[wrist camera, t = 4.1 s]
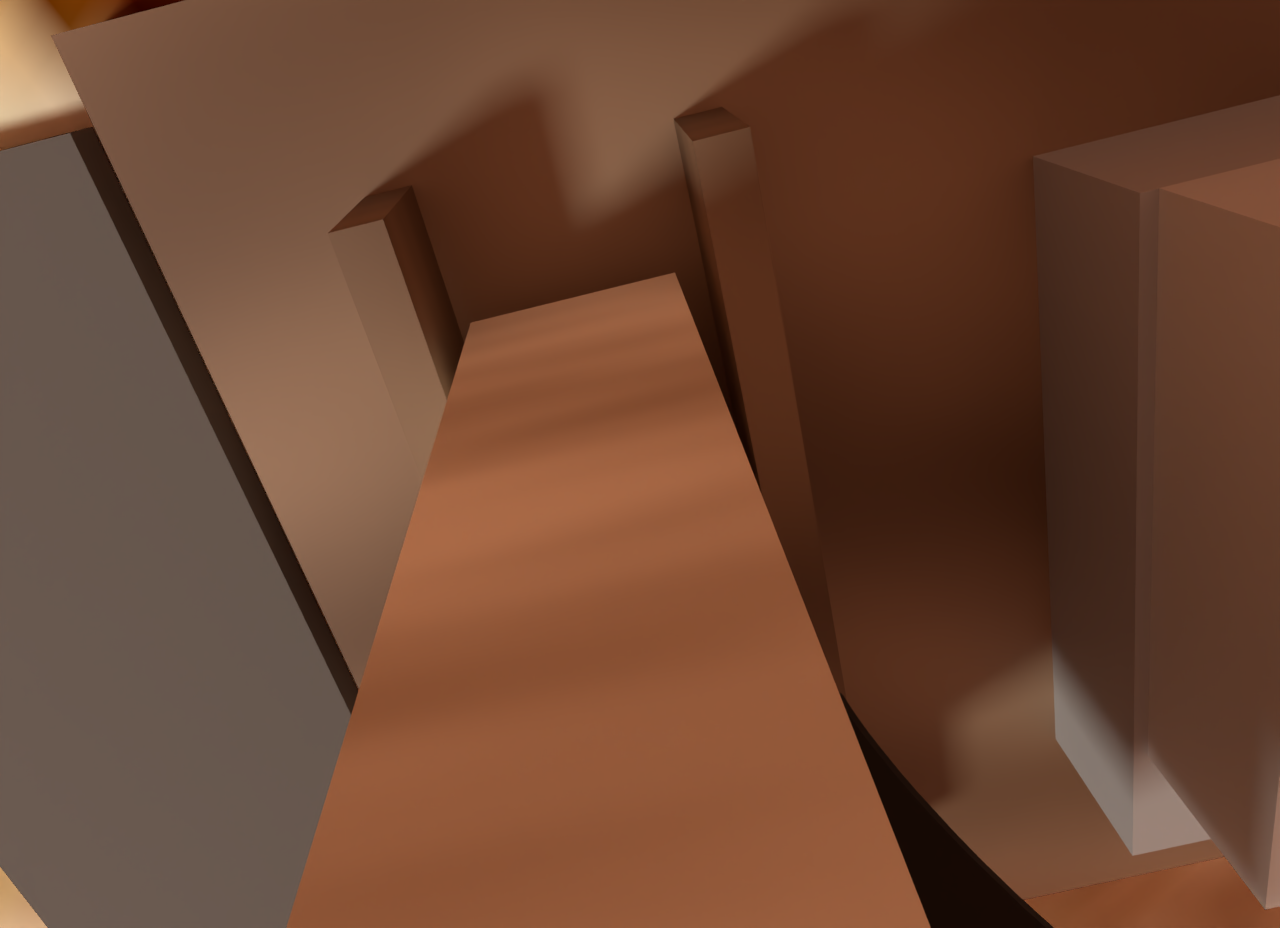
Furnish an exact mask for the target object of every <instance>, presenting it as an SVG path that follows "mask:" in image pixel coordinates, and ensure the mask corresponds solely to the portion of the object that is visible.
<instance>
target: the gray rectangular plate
mask: <svg viewBox="0 0 1280 928" xmlns="http://www.w3.org/2000/svg"><path fill="white" fill-rule="evenodd" d="M357 694H358V689H357V687H356V685H355V683H354V681H353V679H352V677H351V675H350V672H349V670H348V668H347V666H346V664H345V662H344V660H343V658H342V656H341V653H340V651H339V649H338V647H337V645H336V643H335V641H334V639H333V636H332V634H331V632H330V630H329V628H328V626H327V624H326V622H325V619H324V617H323V615H322V613H321V611H320V609H319V607H318V605H317V603H316V600H315V598H314V596H313V594H312V592H311V590H310V588H309V586H308V583H307V581H306V579H305V577H304V575H303V573H302V571H301V569H300V566H299V564H298V562H297V560H296V558H295V556H294V554H293V552H292V549H291V547H290V545H289V543H288V541H287V539H286V537H285V535H284V533H283V530H282V528H281V526H280V524H279V522H278V520H277V518H276V516H275V513H274V511H273V509H272V507H271V505H270V503H269V501H268V499H267V496H266V494H265V492H264V490H263V488H262V486H261V484H260V482H259V480H258V477H257V475H256V473H255V471H254V469H253V467H252V465H251V463H250V460H249V458H248V456H247V454H246V452H245V450H244V448H243V446H242V443H241V441H240V439H239V437H238V435H237V433H236V431H235V429H234V426H233V424H232V422H231V420H230V418H229V416H228V414H227V412H226V410H225V407H224V405H223V403H222V401H221V399H220V397H219V395H218V393H217V390H216V388H215V386H214V384H213V382H212V380H211V378H210V376H209V373H208V371H207V369H206V367H205V365H204V363H203V361H202V359H201V357H200V354H199V352H198V350H197V348H196V346H195V344H194V342H193V340H192V337H191V335H190V333H189V331H188V329H187V327H186V325H185V323H184V320H183V318H182V316H181V314H180V312H179V310H178V308H177V306H176V303H175V301H174V299H173V297H172V295H171V293H170V291H169V289H168V287H167V284H166V282H165V280H164V278H163V276H162V274H161V272H160V270H159V267H158V265H157V263H156V261H155V259H154V257H153V255H152V253H151V250H150V248H149V246H148V244H147V242H146V240H145V238H144V236H143V234H142V231H141V229H140V227H139V225H138V223H137V221H136V219H135V217H134V214H133V212H132V210H131V208H130V206H129V204H128V202H127V200H126V197H125V195H124V193H123V191H122V189H121V187H120V185H119V183H118V181H117V178H116V176H115V174H114V172H113V170H112V168H111V166H110V164H109V161H108V159H107V157H106V155H105V153H104V151H103V149H102V147H101V144H100V142H99V140H98V138H97V136H96V134H95V132H94V130H93V127H90V128H86V129H82V130H78V131H75V132H71V133H67V134H63V135H59V136H55V137H51V138H48V139H44V140H40V141H36V142H32V143H28V144H24V145H21V146H17V147H13V148H9V149H5V150H1V151H0V867H1V868H2V870H3V871H4V872H5V873H6V875H7V876H8V877H9V879H10V880H11V881H12V882H13V884H14V885H15V886H16V888H17V889H18V890H19V891H20V893H21V894H22V895H23V897H24V898H25V899H26V900H27V902H28V903H29V904H30V906H31V907H32V908H33V909H34V911H35V912H36V913H37V914H38V916H39V917H40V918H41V920H42V921H43V922H44V923H45V925H46V926H47V927H48V928H286V927H287V924H288V921H289V917H290V914H291V911H292V908H293V904H294V901H295V898H296V894H297V891H298V888H299V885H300V881H301V878H302V875H303V871H304V868H305V865H306V862H307V858H308V855H309V852H310V848H311V845H312V842H313V839H314V835H315V832H316V829H317V826H318V822H319V819H320V816H321V812H322V809H323V806H324V803H325V799H326V796H327V793H328V789H329V786H330V783H331V780H332V776H333V773H334V770H335V766H336V763H337V760H338V757H339V753H340V750H341V747H342V743H343V740H344V737H345V734H346V730H347V727H348V724H349V720H350V717H351V714H352V711H353V707H354V704H355V701H356V697H357Z"/></svg>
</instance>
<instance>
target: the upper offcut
mask: <svg viewBox="0 0 1280 928" xmlns="http://www.w3.org/2000/svg"><path fill="white" fill-rule="evenodd" d="M1148 757H1149V758H1150V759H1151V761H1152V762H1153V763H1154V765H1155V766H1156V767H1157V769H1158V770H1159V771H1160V773H1161V774H1162V775H1163V776H1164V778H1165V779H1166V780H1167V782H1168V783H1169V784H1170V786H1171V787H1172V788H1173V790H1174V791H1175V792H1176V793H1177V795H1178V796H1179V797H1180V799H1181V800H1182V801H1183V803H1184V804H1185V805H1186V807H1187V808H1188V809H1189V811H1190V812H1191V813H1192V814H1193V816H1194V817H1195V818H1196V820H1197V821H1198V822H1199V824H1200V825H1201V826H1202V828H1203V829H1204V830H1205V831H1206V833H1207V834H1208V835H1209V837H1210V838H1211V839H1212V841H1213V842H1214V843H1215V845H1216V846H1217V847H1218V849H1219V850H1220V851H1221V852H1222V854H1223V855H1224V856H1225V858H1226V859H1227V860H1228V862H1229V863H1230V864H1231V866H1232V867H1233V868H1234V870H1235V871H1236V872H1237V873H1238V875H1239V876H1240V877H1241V879H1242V880H1243V881H1244V883H1245V884H1246V885H1247V887H1248V888H1249V889H1250V890H1251V892H1252V893H1253V894H1254V896H1255V897H1256V898H1257V900H1258V901H1259V902H1260V904H1261V905H1262V906H1263V908H1264V909H1265V910H1266V909H1271V908H1275V907H1280V159H1276V160H1272V161H1268V162H1264V163H1260V164H1256V165H1252V166H1248V167H1244V168H1240V169H1236V170H1231V171H1227V172H1223V173H1219V174H1215V175H1211V176H1207V177H1203V178H1199V179H1195V180H1191V181H1186V182H1182V183H1178V184H1174V185H1170V186H1166V187H1162V188H1159V224H1158V274H1157V323H1156V373H1155V422H1154V472H1153V521H1152V571H1151V620H1150V670H1149V719H1148Z"/></svg>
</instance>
